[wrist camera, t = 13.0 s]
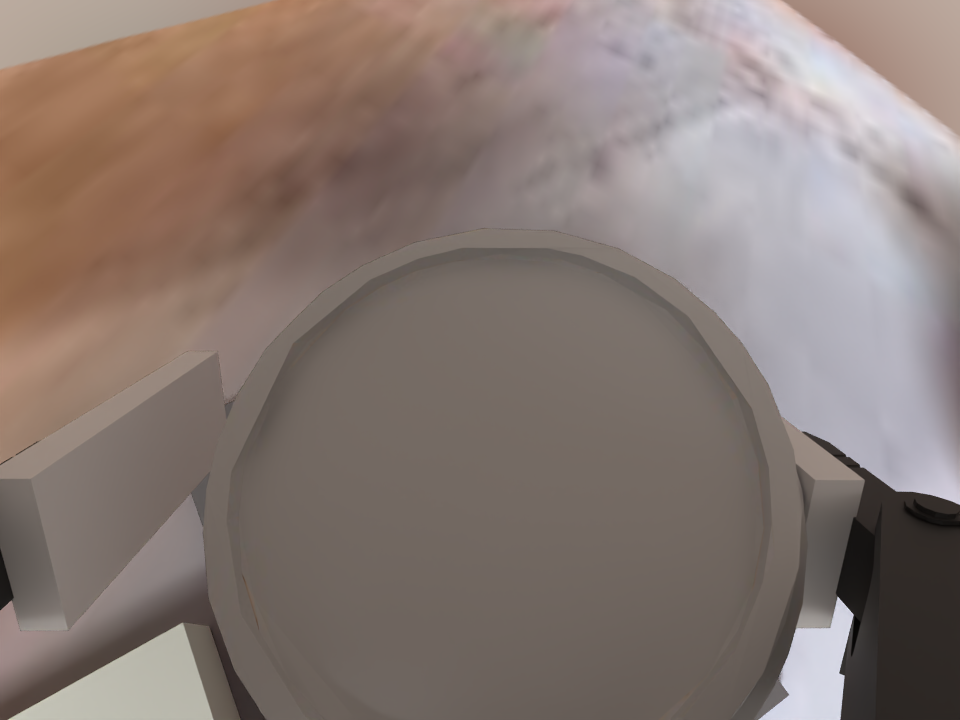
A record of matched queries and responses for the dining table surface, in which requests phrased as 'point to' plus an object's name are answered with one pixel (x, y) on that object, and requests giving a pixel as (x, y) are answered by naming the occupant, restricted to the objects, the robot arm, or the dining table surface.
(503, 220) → the dining table surface
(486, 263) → the disposable coffee cup
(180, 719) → the holder board
